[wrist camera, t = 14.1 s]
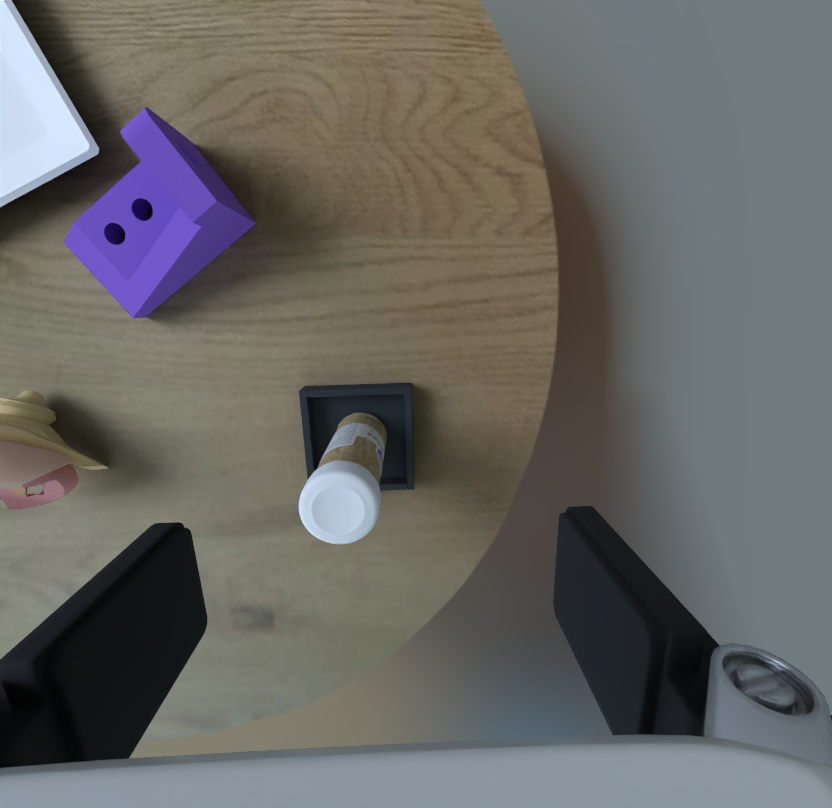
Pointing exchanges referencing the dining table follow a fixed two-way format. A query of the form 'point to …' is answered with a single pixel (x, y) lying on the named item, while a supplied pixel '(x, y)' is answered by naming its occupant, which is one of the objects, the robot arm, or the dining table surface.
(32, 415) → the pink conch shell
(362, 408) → the dark grey square tray
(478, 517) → the dining table surface
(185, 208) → the bracket
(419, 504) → the dining table surface
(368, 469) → the sprinkles bottle
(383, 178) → the dining table surface
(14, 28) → the plate
